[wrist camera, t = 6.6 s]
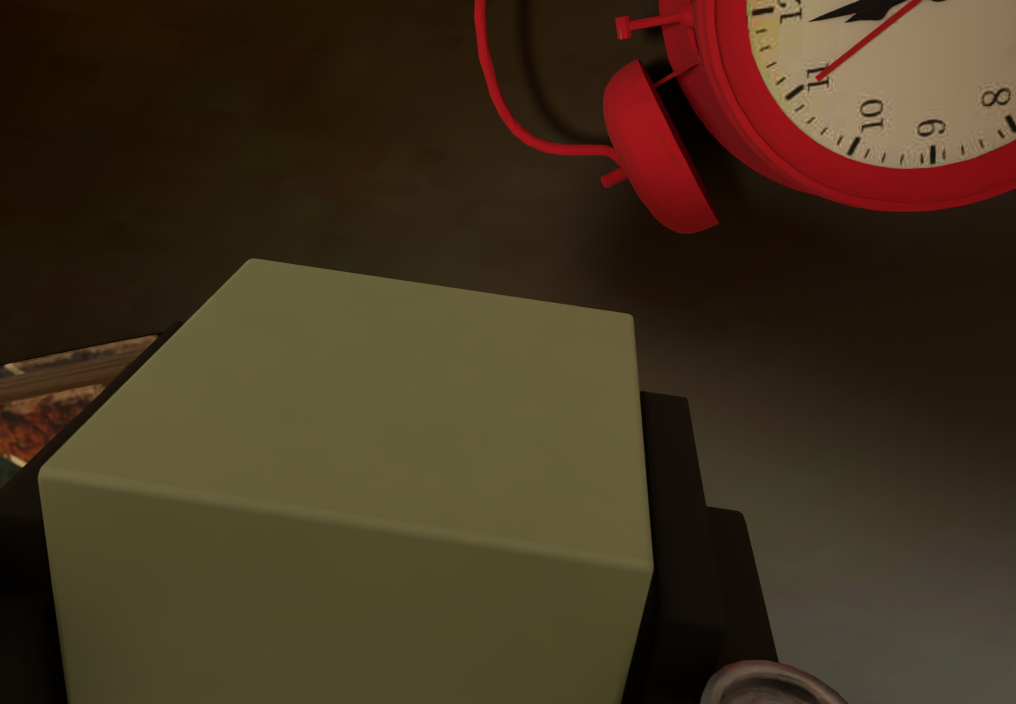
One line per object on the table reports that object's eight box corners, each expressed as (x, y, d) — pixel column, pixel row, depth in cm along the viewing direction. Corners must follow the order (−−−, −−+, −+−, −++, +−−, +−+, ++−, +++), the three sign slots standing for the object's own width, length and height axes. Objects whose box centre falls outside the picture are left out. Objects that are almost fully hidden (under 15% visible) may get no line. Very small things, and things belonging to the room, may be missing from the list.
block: (249, 254, 11) (32, 469, 7) (634, 311, 11) (657, 566, 7) (250, 560, 13) (86, 869, 9) (574, 611, 13) (562, 949, 9)
